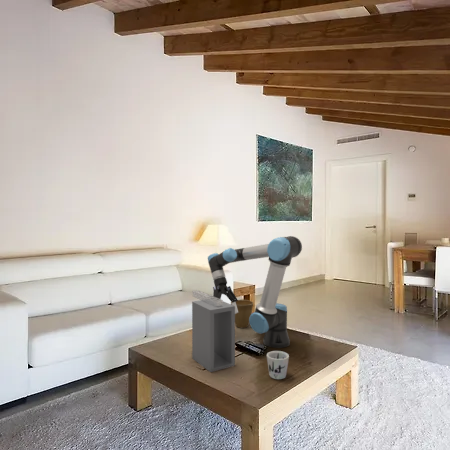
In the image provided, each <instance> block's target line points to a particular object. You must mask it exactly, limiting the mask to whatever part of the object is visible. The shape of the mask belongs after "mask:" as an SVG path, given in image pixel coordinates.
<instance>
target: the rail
mask: <svg viewBox="0 0 450 450" xmlns="http://www.w3.org/2000/svg"><path fill="white" fill-rule="evenodd" d="M192 297H193V298H195V299H198V301H200V300H202V301H204V302H206V303H208V304H211V305H213V306H215V307H221V306H223V301H224V300H223V299H222V298H221V299H219V298H216V297H214V296H213V295H211V294H208V293H206V292H203V291H201V290H199V289H198V290H197V289H196V290H192Z"/></svg>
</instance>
